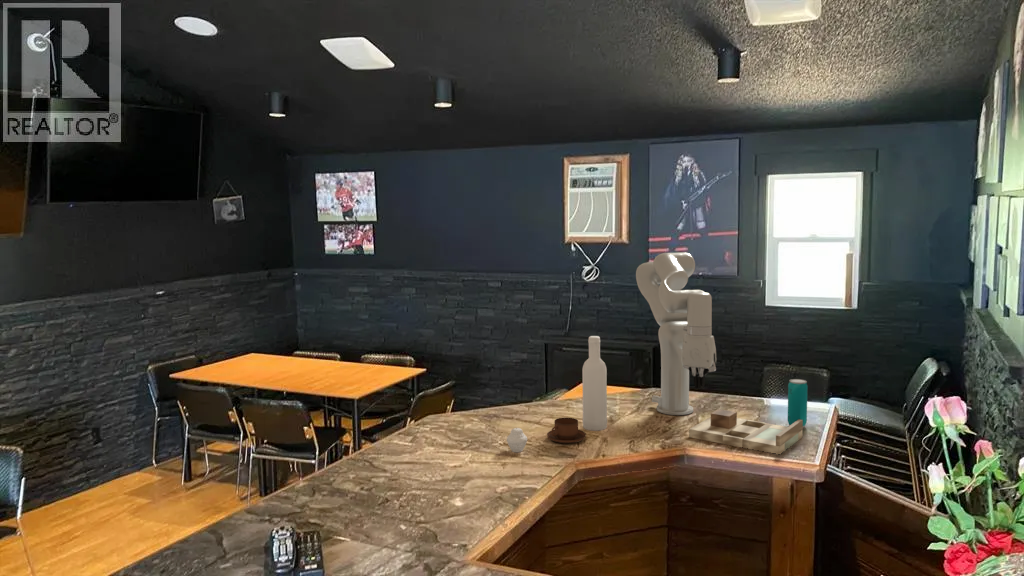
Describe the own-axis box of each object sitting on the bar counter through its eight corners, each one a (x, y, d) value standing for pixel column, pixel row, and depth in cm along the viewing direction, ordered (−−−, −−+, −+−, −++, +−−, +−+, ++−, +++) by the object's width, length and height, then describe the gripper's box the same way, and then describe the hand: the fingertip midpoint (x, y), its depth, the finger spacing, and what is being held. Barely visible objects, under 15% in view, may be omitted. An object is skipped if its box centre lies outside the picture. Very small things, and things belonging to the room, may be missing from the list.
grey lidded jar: (503, 452, 212) (503, 429, 211) (511, 446, 218) (510, 423, 217) (523, 455, 210) (523, 431, 209) (530, 448, 215) (530, 425, 215)
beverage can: (803, 423, 235) (804, 378, 233) (808, 429, 229) (810, 382, 228) (785, 423, 235) (786, 378, 234) (790, 428, 230) (791, 382, 228)
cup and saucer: (575, 448, 215) (574, 428, 214) (540, 442, 221) (539, 423, 221) (592, 437, 225) (592, 418, 224) (558, 432, 231) (558, 413, 231)
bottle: (610, 425, 237) (609, 335, 234) (602, 432, 230) (602, 339, 227) (587, 422, 240) (586, 334, 237) (579, 429, 233) (578, 338, 230)
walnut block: (710, 425, 226) (710, 413, 226) (718, 421, 231) (718, 409, 230) (729, 429, 222) (729, 416, 222) (736, 424, 227) (736, 412, 226)
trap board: (688, 437, 223) (688, 419, 223) (715, 421, 239) (715, 405, 238) (779, 454, 206) (780, 436, 205) (802, 437, 221) (802, 419, 220)
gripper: (672, 330, 230) (672, 387, 232) (716, 334, 221) (716, 393, 222) (682, 328, 236) (683, 383, 238) (726, 331, 227) (726, 388, 228)
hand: (699, 388), depth 230 cm, fingers closed
